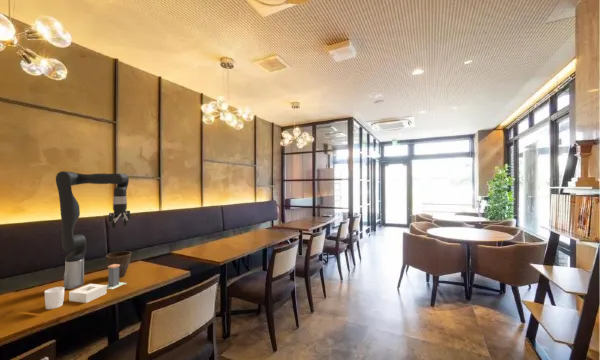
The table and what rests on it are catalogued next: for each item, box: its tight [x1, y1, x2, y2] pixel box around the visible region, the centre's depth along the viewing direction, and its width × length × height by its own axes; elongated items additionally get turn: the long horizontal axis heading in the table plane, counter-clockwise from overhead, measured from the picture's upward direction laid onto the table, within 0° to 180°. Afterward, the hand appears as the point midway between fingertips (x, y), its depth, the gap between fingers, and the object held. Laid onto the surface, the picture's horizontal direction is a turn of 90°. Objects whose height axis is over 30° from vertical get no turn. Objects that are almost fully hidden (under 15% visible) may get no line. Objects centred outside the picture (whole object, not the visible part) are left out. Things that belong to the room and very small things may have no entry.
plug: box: [107, 264, 120, 287], centre depth 166 cm, size 5×5×13 cm
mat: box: [106, 281, 127, 290], centre depth 166 cm, size 10×10×1 cm
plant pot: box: [105, 250, 132, 278], centre depth 184 cm, size 15×15×16 cm
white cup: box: [44, 286, 65, 310], centre depth 138 cm, size 8×8×10 cm
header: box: [68, 283, 108, 304], centre depth 149 cm, size 12×12×6 cm
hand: (119, 227), depth 171 cm, fingers open, 8 cm apart
